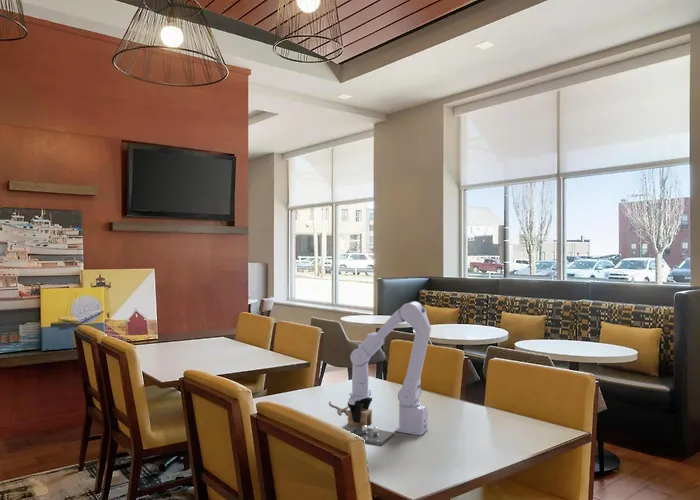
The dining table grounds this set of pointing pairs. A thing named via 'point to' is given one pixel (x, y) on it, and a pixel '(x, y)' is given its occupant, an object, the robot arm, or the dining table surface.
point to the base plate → (373, 435)
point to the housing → (361, 418)
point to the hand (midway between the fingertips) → (359, 420)
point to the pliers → (340, 409)
